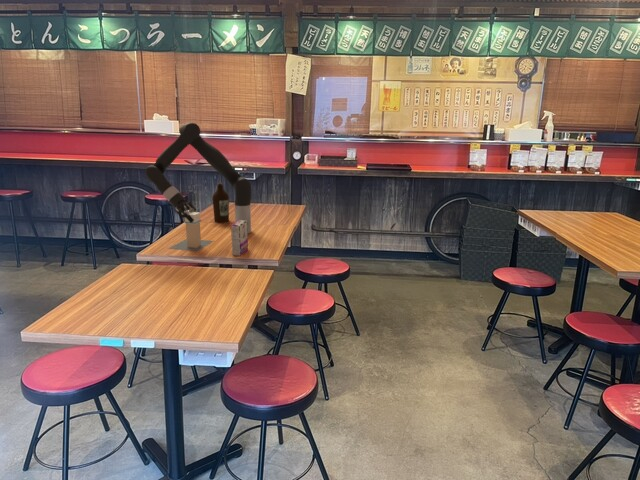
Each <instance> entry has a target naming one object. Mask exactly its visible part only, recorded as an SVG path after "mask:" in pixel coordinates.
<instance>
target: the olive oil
mask: <svg viewBox="0 0 640 480" xmlns="http://www.w3.org/2000/svg"><path fill="white" fill-rule="evenodd" d="M223 184H224V183H222V182H218V183H217V189H216V191H215V192H214V193H213V194H212V197H211V198H212V207H213V218H214V222H215V223H227V222H229V220H230V218H229V217H230V196H229V194H228V193H227V191H225V190H224V188H223V187H224V186H223Z"/></svg>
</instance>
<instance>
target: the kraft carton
mask: <svg viewBox="0 0 640 480" xmlns="http://www.w3.org/2000/svg"><path fill="white" fill-rule="evenodd" d="M185 233H186V239H187V247H192V248H197V247H199V246H201V240H202V235H201V233H202V232H201V222H199V223H197V224H187V223H185Z"/></svg>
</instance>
